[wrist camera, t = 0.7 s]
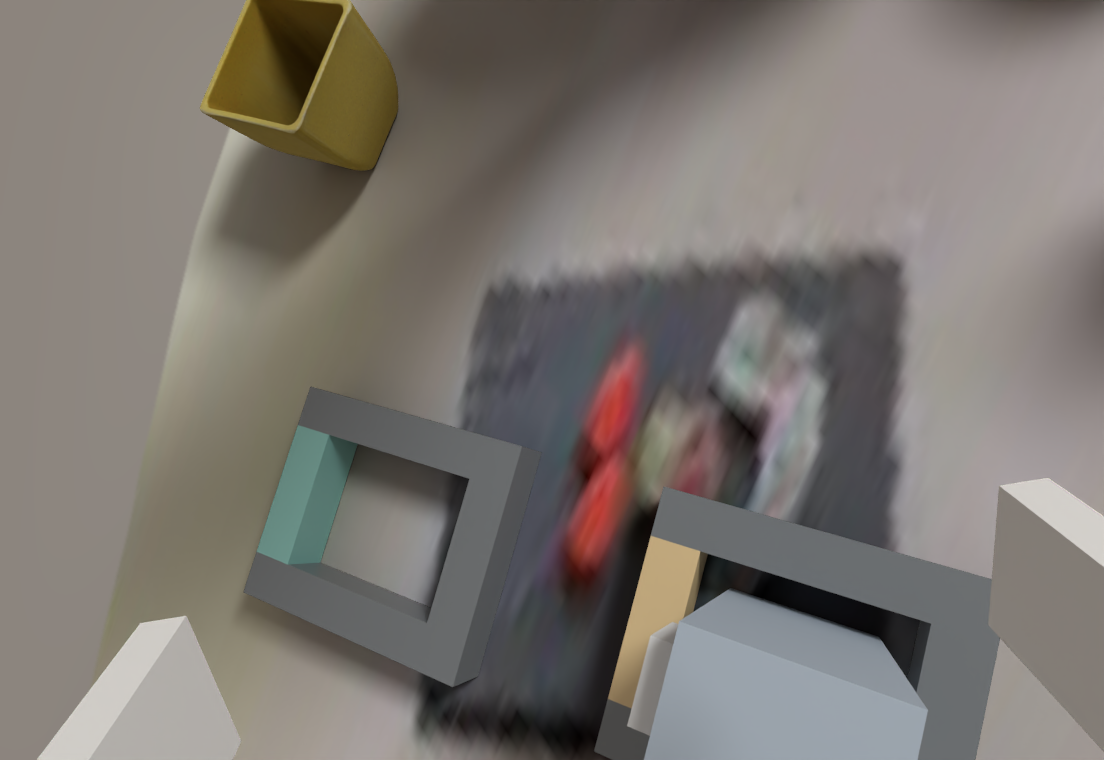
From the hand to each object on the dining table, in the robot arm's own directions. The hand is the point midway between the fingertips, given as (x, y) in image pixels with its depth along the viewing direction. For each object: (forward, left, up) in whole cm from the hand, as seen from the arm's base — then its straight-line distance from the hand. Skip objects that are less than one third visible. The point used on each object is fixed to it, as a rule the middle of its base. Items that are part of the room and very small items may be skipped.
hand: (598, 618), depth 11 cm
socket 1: (+4, -20, -26) cm, 33 cm away
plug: (+4, +3, -26) cm, 27 cm away
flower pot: (-21, -33, -26) cm, 47 cm away
